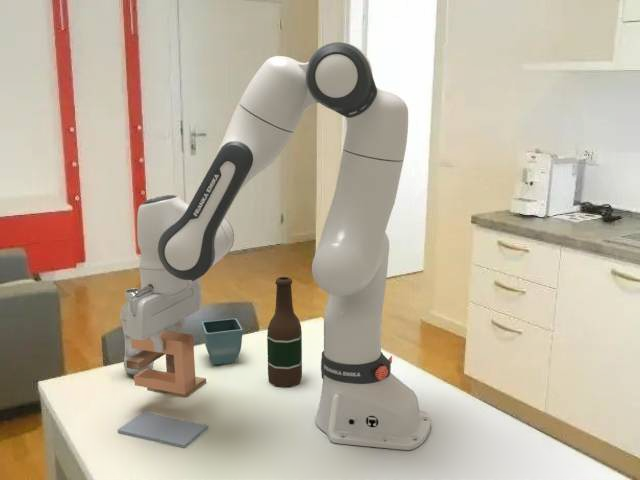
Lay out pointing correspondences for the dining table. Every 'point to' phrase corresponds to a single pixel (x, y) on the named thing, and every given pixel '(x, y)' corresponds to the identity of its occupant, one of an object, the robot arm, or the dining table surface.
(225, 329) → the flower pot
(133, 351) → the plastic bottle
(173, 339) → the c link
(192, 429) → the felt mat
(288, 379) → the beer bottle
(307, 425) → the dining table surface
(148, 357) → the brown wooden angular piece
